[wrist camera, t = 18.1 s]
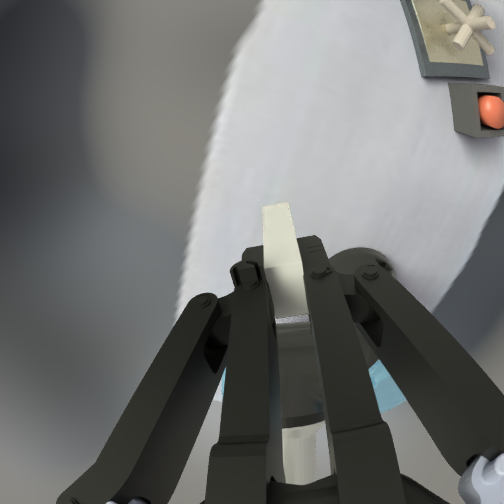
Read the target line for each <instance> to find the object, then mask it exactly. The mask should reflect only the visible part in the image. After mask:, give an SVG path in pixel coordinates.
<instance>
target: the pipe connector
mask: <svg viewBox="0 0 504 504" xmlns="http://www.w3.org/2000/svg"><path fill="white" fill-rule="evenodd" d="M439 3H440V4H441V5H442V6H443V7H444V8H445V9H446V10H447V11H448V12H449V13H450V14H451V15H452V16H453V17H454V18H455V19H456V20H457V21H458V22H454V23H449V24H446V26H445V28H446V30H447V32H448V33H449V34H457V35H456V36H455V38H454V40H453V41H452V45H453V46H454V47H455V48H456V49H457V50H459V51H463V50H464V48H465V47H466V45H467V43H468V41H469V40H470V38H471V36H472V37H473V38H474V39H475V41H476V42H477V43H478V44H479V45H480V47H481V48H482V49H483V50H484V51H485V53H486V54H487V55H491V54H493V53H494V51H495V49H494V48H493V46H492V45H491V44H490V43H489V41H488V40H487V39H486V38H485V36H484V35H483V34H482V33H481V32H480V31H479V30H488V29H495V22H494V20H493V19H492V18H491V17H490V16H485V17H482V16H483V14H484V12H485V10H484V8H483V7H482V6H481V5H479V4H476V3H475V4H474V5H473V7H472V9H471V11H470V12H469V14H468V16H466V15H465V14H464V13H463V12H462V11H461V10H460V9H459V8H458V7H457V6H456V5H455V4H454V3H453V2H452V1H451V0H440V2H439Z"/></svg>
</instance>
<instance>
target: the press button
mask: <svg viewBox="0 0 504 504" xmlns="http://www.w3.org/2000/svg"><path fill="white" fill-rule="evenodd" d="M478 105H479V115H480V123H482V124H483V125H487V126H490V127H493V128H497V129H500V128H502V127H503V126H504V102H503V101H502V100H501V99H500V98H499V97H495V96H489V95H479V96H478Z"/></svg>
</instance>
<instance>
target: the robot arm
mask: <svg viewBox="0 0 504 504" xmlns="http://www.w3.org/2000/svg"><path fill="white" fill-rule="evenodd" d="M230 274H231V277H232V280H233V284H234V287H235V289H234V291H233V292H232V293H230V294H229V295H226V296H224V297H221V298H217V296H216V295H215V294H213V293H202V294H199V295H197V296H195V297H194V298H192V299H191V300H190V301H189V302H188V304H187V306H186V307H185V309H184V311H183V312H182V314H181V315H180V317H179V319H178V320H177V322H176V324H175V325H174V327H173V329H172V330H171V332H170V334H169V335H168V337H167V339H166V340H165V342H164V344H163V345H162V347H161V349H160V350H159V352H158V354H157V355H156V357H155V359H154V360H153V362H152V364H151V366H150V367H149V369H148V371H147V372H146V374H145V376H144V378H143V379H142V381H141V383H140V384H139V386H138V388H137V390H136V391H135V393H134V395H133V396H132V398H131V400H130V402H129V403H128V405H127V407H126V409H125V410H124V412H123V414H122V416H121V417H120V419H119V421H118V423H117V424H116V426H115V428H114V430H113V432H112V433H111V435H110V437H109V439H108V441H107V442H106V444H105V446H104V448H103V450H102V451H101V453H100V455H99V457H98V459H97V461H96V462H95V463H94V464H93V465H92V466H91V467H90V468H89V469H88V470H87V471H86V472H85V473H84V474H83V475H82V476H81V477H79V478H78V479H77V480H76V481H75V482H74V483H73V484H72V485H71V486H69V487H68V488H67V489H66V490H65V491H64V492H63V493H62V494H61V495H60V496H59V497H58V499H57V502H56V504H167V503H168V502H169V500H170V498H171V496H172V494H173V492H174V490H175V488H176V486H177V484H178V481H179V479H180V477H181V474H182V472H183V470H184V467H185V465H186V462H187V460H188V458H189V455H190V453H191V451H192V448H193V446H194V444H195V441H196V439H197V436H198V434H199V431H200V429H201V426H202V424H203V422H204V419H205V417H206V414H207V412H208V409H209V407H210V405H211V402H212V400H213V397H214V395H215V392H216V390H217V387H218V385H219V383H220V380H221V378H222V396H223V400H222V413H221V423H220V434H219V440H218V442H217V443H216V444H214V445H213V447H212V449H211V452H210V456H209V466H208V475H207V485H206V496H205V500H204V501H203V502H202V503H200V504H450V503H448V502H446V501H445V500H443V499H442V498H440V497H439V496H437V495H435V494H434V493H432V492H431V491H429V490H428V489H426V488H425V487H423V486H422V485H420V484H419V483H417V482H416V481H414V480H413V479H411V478H409V477H407V476H405V475H403V474H400V470H399V465H398V461H397V456H396V452H395V448H394V443H393V439H392V435H391V432H390V429H389V426H388V424H387V423H386V422H384V421H383V420H382V417H381V414H380V413H383V412H385V411H388V410H390V409H392V408H394V407H396V406H398V405H399V404H401V403H403V402H404V401H405V400H407V401H408V402H409V404H410V405H411V407H412V409H413V410H414V412H415V413H416V414H417V416H418V417H419V419H420V421H421V422H422V424H423V425H424V427H425V428H426V430H427V431H428V433H429V435H430V436H431V438H432V440H433V441H434V443H435V444H436V446H437V447H438V449H439V451H440V452H441V454H442V455H443V457H444V458H445V460H446V461H447V462H448V464H449V465H450V466H451V467H452V468H453V469H454V470H455V471H456V472H457V474H459V475H460V476H461V478H460V481H459V486H458V490H459V494H460V496H461V497H462V498H463V500H464V501H465V503H466V504H504V395H503V394H502V392H501V391H500V390H499V389H498V387H497V386H496V385H495V384H494V383H493V381H492V380H491V379H490V378H489V377H488V376H487V374H486V373H485V372H484V371H483V370H482V368H481V367H480V366H479V365H478V364H477V363H476V362H475V361H474V359H473V358H472V357H471V356H470V355H469V354H468V353H467V351H465V349H464V348H463V347H462V346H461V345H460V344H459V343H458V342H457V341H456V339H455V338H454V337H453V336H452V335H451V334H450V333H449V332H448V331H447V330H446V329H445V328H444V327H443V326H442V325H441V324H440V323H439V322H438V321H437V319H436V318H435V317H434V316H432V314H431V313H430V312H429V311H428V310H427V309H426V308H425V307H424V306H423V305H422V304H421V303H420V302H419V301H418V300H417V299H416V298H415V297H414V296H413V295H412V294H411V293H410V292H409V291H407V290H406V289H405V288H404V287H403V286H402V285H401V284H400V283H399V282H398V281H397V280H396V275H395V272H394V269H393V267H392V266H391V264H390V263H389V261H388V260H387V258H386V257H385V256H384V255H382V254H381V253H380V252H378V251H376V250H373V249H369V248H352V249H348V250H345V251H342V252H340V253H338V254H336V255H334V256H332V257H331V258H329V259H328V257H327V254H326V252H325V249H324V246H323V244H322V241H321V239H320V238H318V237H317V236H315V235H313V236H307V237H302V238H296V234H295V230H294V226H293V222H292V218H291V213H290V209H289V205H288V202H285V203H280V204H274V205H269V206H264V207H263V245H261V246H256V247H250V248H246V250H245V251H244V252H243V254H242V261H240V262H238V263H236V264H234V265H233V266H232V267H231V269H230ZM303 314H309V320H310V321H307V322H295V323H283V324H276V322H275V318H276V319H278V318H285V317H291V316H297V315H303ZM324 423H326V430H327V439H328V447H329V455H330V467H331V475H330V476H328V477H326V478H323V479H320V480H317V481H316V432H317V430H318V429H319V428H320V427H321V426H322V425H323V424H324Z"/></svg>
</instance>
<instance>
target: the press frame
mask: <svg viewBox="0 0 504 504" xmlns="http://www.w3.org/2000/svg"><path fill="white" fill-rule="evenodd" d="M400 1H401V4H402V7H403V10H404V13H405V16H406V19H407V22H408V26H409V29H410V32H411V36H412V39H413V43H414V47H415V51H416V55H417V59H418V63H419V68H420V72H421V76H452V77H473V78H486V79H490V78H489V72H488V67H487V62H486V57H485V52H484V50H483V49H482V48H481V47H480V45H479V44H478V43H477V42H476V41H475V39H474V38H473V37H472V36H471V38H470V40H469V41H468V43H467V45H466V47H465V48H464V50H463V51H459V50H457V49H456V48H455V47H454V46H453V45H452V41H453V40H454V38H455V36H456V35H457V34H449V33H448V32H447V30H446V28H445V26H446V24H449V23H454V22H458V21H457V20H456V19H455V18H454V17H453V16H452V15H451V14H450V13H449V12H448V11H447V10H446V9H445V8H444V7H443V6H442V5H441V4H440V3H439V2H440V0H400ZM451 1H452V2H453V3H454V4H455V5H456V6H457V7H458V8H459V9H460V10H461V11H462V12H463V13H464V14H465V15H466V16H468V14H469V12H470V11H471V9H472V6H471V3H470V0H451Z"/></svg>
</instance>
